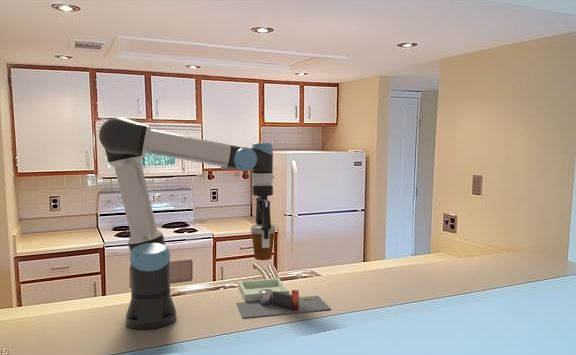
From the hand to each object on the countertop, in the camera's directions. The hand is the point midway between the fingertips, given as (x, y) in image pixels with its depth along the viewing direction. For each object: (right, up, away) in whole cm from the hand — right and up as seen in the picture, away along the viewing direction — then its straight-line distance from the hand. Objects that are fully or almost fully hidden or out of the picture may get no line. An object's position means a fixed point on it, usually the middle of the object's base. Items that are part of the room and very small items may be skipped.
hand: (262, 244), depth 157 cm
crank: (+9, -19, -14) cm, 25 cm away
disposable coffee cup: (0, -5, 0) cm, 5 cm away
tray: (0, -19, +1) cm, 19 cm away
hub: (+8, -19, -8) cm, 22 cm away
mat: (+8, -19, -12) cm, 24 cm away
